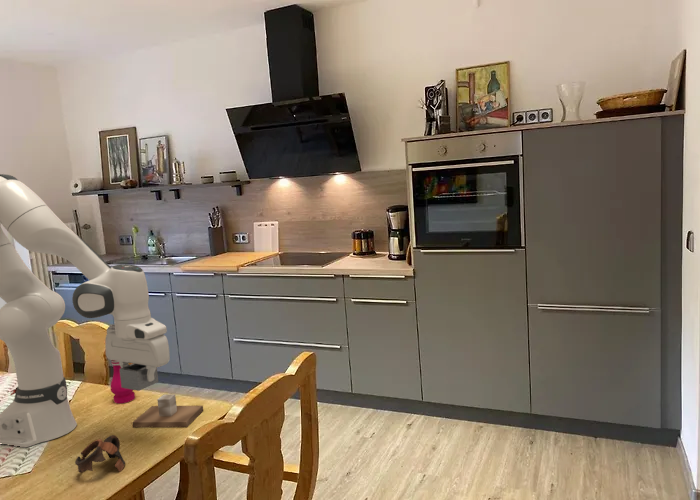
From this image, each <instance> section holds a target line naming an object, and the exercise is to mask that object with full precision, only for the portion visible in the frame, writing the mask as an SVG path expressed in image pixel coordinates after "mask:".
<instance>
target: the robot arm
mask: <svg viewBox="0 0 700 500" xmlns="http://www.w3.org/2000/svg"><path fill="white" fill-rule="evenodd" d="M2 226H3V227H4V229H5V230H6V231H7V232H8V233H9V235H10V236H11V237H12V238H13V239H14V240H15V241H16V242H17V243H18V244H19V245H20V246H22V247H23V248H25V249H26V250H27V251H30V252H33V253H38V254H46V255H51V256H56V257H59V258H63V259H65V260H67V261H68V262H70V263H71V264H72V265H73V266H74V267H75V268H76V269H77V270H78V271H79V272H80V273H81V274H82V275H83V276H85V278H86V279H88V280H87V281H85V282H83V283H81V284H79V285H78V286H76V288H75V289H74V291H73V293H72V301H71V302H72V306H73V307H74V309H75V311H76V313H78V315H80V316H82V317H83V318H85V319H97V318H101V317H104V316H107V315H111V316H113V323H114V324H110V325H109V326H108V327H107V328H106V336H105V339H104V340H105V345H104V346H105V356H106V358H107V359H108V360H110V361H111V360H115V361H119V364H120V366H121V368H123V367H126V366H128V365H130V364H133V363H134V364H140V365H146V369H148V372H147V374H145V381H149V382H151V381H153V380H154V373H155V370H156V368H157V369H158V368H159V367H163V366H165V365H167V364H168V363H169V362H170V358H171V357H170V346H169V340H168V338H167V336H166V335H165V334H167V332H168V330H167V326H166V325H165V324H164V323H162V322H160V321H158V320H156V319H155V318H154V317H152V315H151V310H150V308H149V299H150V296H149V295H150V294H149V288H148V287H149V286H148V282H147V278H146V274H145V271H144V270H143V268H141V267H140V266H138V265H134V264H127V263H126V264H116V265H113V266H111V265H109V264H108V263H107V262H106V260H104V259H103V257H101V256H100V255H99V254H98V253H97V252H96V251H95V250H94V249H93V248H92V247H91V246H90V245H89V244H88V243H87V242H86V241H85V240H84V239H82V237H80V235H78V234H77V233H76V232H75V231H73V230H72V229H71V228H70V227H68V226H67V225H66V223H65V222H63V221H62V220H61V219H60V218H59V216H57V215H56V214H55V212H53V210H52V209H51V208H50V207H49V206H48V204H47V203H46V202H45V201H44V200H43V199H42V198H41V197H40V196H39V195H38V194H37V193H36V192H34V190H32V189H31V188H30V186H29V187H28V186H27V185H26V184H25V183H24V182H22V181H20V180H19V179H18V178H16V177H15V176H13V175H10V174H4V173H3V174H1V173H0V299H2V300H3V301H4V302H5V304H4V305H3V306H2V307H0V340H1V341H3V342H4V344H5V345H6V346H7V349H8V351H9V353H10V355H11V358H12V361H13V364H14V369H15V370H14V371H15V375H16V381H17V386H16V388H14V389H12V390H11V391H9V393H10V395H9V396H13V395H14V398H13V401H12V402H11V403H10V404H9V405H8V406H7V407H5V408H4V410H3V411H2V412H0V443H2V444H9V445H14V446H13V447H17V446H20V447H19V448H28V447H31V446H34V445H37V444H39V443H40V444H41V443H44V442H48V441H52V440H54V439H57V438H60V437H62V436H65V435H67V434H68V433H70V432H72V431H73V430H74V429H75V428H76V427H77V426H78V423H77V421H76V419H75V417H74V414H73V412H72V409H71V406H70V402H69V399H68V385H67V381H66V377H64V371H63V364H62V358H61V352H60V350H59V349H58V348H57V347H55V346H54V344H53V342H52V339H51V337H50V334H49V329H50V328H51V327H54V326H55V325H56V324H57V323H58V322H59V321H60V320H61V318H62V317H63V316H64V314H65V312H66V311H65V310H66V304H65V303H66V302H65V300H64V297H63V296H61V294H59V293H58V292H56V291H54V290H52V289H50V288H49V287H48V286H47V285H46V284H45V283H43V281H42V280H40V279H39V277H37V276H36V275H35V274H34V273H33V272H32V270H31V269H30V268H29V267H28V266H27V265H26V262H24V260H23V259H22V257H21V255H20V254H19V253H18V251H17V250H16V248H15V247H14V245H13V243H12V242H11V240H10V239H9V238H8V236H7V235H6V234H5V232H4V231H3V229H2ZM9 445H8V446H9Z"/></svg>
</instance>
